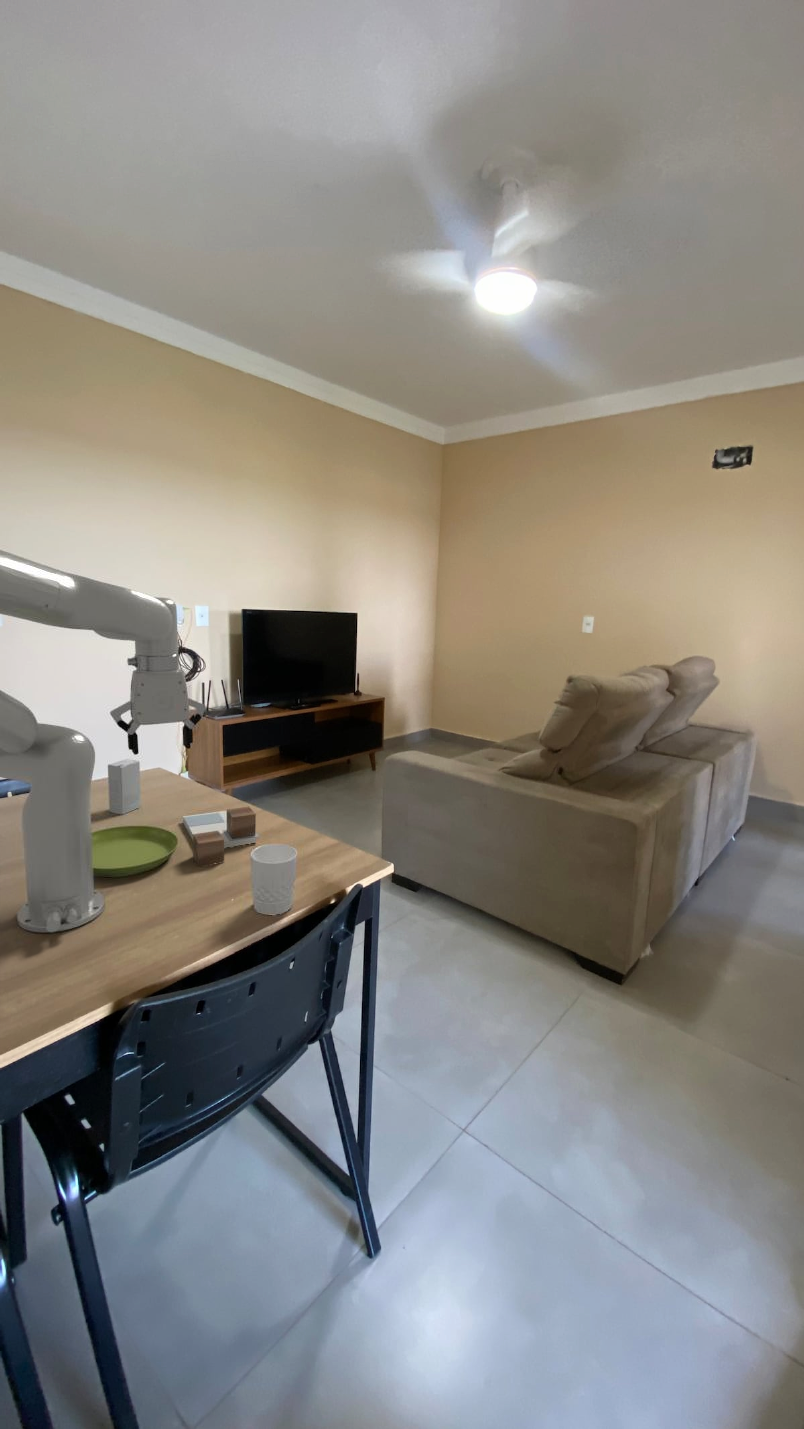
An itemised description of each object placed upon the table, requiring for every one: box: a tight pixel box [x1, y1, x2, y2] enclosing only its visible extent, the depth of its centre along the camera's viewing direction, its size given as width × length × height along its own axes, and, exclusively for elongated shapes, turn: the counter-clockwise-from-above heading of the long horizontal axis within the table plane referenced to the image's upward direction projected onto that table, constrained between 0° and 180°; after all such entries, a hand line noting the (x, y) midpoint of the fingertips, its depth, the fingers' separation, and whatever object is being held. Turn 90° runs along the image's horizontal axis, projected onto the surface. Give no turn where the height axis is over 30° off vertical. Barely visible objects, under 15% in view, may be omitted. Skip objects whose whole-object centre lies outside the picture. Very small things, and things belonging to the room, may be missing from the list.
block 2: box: [226, 806, 257, 839], centre depth 130 cm, size 5×5×5 cm
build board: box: [182, 810, 261, 849], centre depth 134 cm, size 18×13×2 cm
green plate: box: [91, 825, 180, 878], centre depth 118 cm, size 21×21×3 cm
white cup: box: [250, 843, 298, 916], centre depth 103 cm, size 8×8×10 cm
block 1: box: [192, 831, 225, 867], centre depth 120 cm, size 5×5×5 cm
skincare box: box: [107, 758, 142, 815], centre depth 143 cm, size 6×4×12 cm
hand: (161, 749), depth 116 cm, fingers open, 9 cm apart
